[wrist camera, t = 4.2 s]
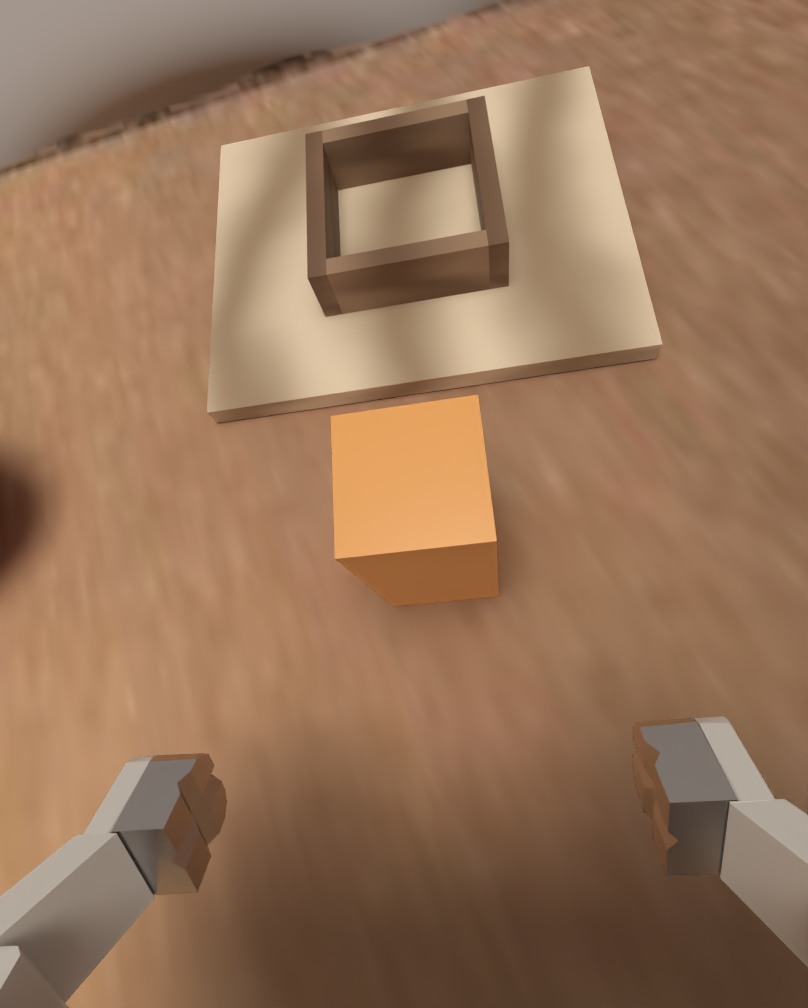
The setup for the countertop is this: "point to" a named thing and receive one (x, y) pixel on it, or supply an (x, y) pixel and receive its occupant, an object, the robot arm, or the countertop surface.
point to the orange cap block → (415, 502)
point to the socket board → (424, 252)
